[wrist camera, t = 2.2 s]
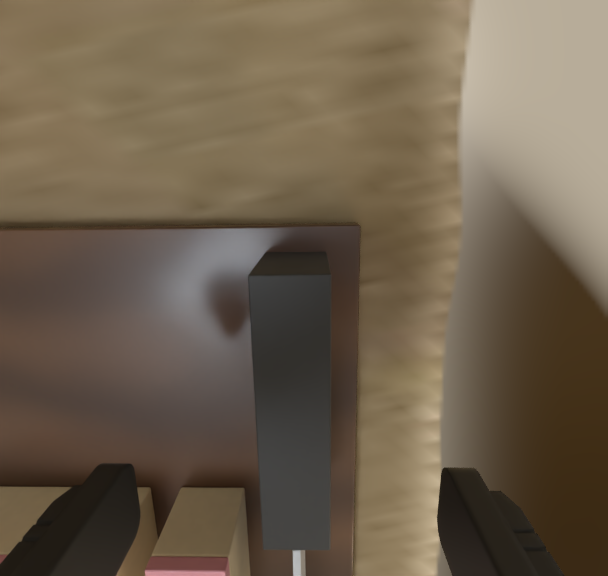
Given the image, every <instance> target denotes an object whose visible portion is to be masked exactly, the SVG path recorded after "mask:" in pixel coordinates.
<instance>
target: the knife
mask: <svg viewBox="0 0 608 576" xmlns="http://www.w3.org/2000/svg"><path fill="white" fill-rule="evenodd" d="M248 289H249V307H250V325H251V343H252V361H253V379H254V397H255V415H256V433H257V451H258V469H259V487H260V505H261V523H262V541H263V549H264V550H292V553H293V576H306V570H305V550H330V549H331V271H330V267H329V262H328V257H327V253H326V252H266V253H265V254H264V255H263V256H262V258H261V259H260V260H259V262H258V263H257V264H256V266H255V267H254V268H253V270H252V271H251V272H250V274H249V275H248Z"/></svg>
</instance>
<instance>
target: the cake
mask: <svg viewBox="0 0 608 576" xmlns="http://www.w3.org/2000/svg"><path fill="white" fill-rule="evenodd" d="M70 488H72V487H2V486H0V564H1V562H2V561H3V560H4V559H5V558H6V556H7V555H8V554H9V553H10V552H11V551H12V549H13V548H14V547H15V546H16V545H17V543H18V542H21V541H22V539H23V536H24V535H25V534H26V533H27V532H28V530H29V529H30V528H31V527H32V526H33V525H36V523H37V520H38V519H39V517H40V516H41V515H42V514H43V513H44V512H45V510H46V509H47V508H48V507H49V506H50V504H51V503H52V502H53V501H54V500H55V499H57V498H58V497H60V496H61V495H62V494H64V493H65V492H66V491H68V490H69V489H70ZM137 490H138V497H139V504H140V524H139V528H138V532H137V535H136V538H135V540H134V542H133V544H132V546H131V548H130V550H129V551H128V553H127V555H126V557H125V559H124V561H123V563H122V565H121V567H120V569H119V571H118V573H117V575H116V576H145V568H146V566H147V564H148V562H149V559H150V557H152V553H153V550H154V548H155V546H156V544H157V541H158V535H157V528H156V521H155V514H154V508H153V501H152V494H151V488H150V487H137Z"/></svg>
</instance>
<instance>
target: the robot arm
mask: <svg viewBox="0 0 608 576" xmlns="http://www.w3.org/2000/svg"><path fill="white" fill-rule="evenodd" d="M437 522H438V532H439V537H440V541H441V545H442V548H443V551H444V553H445V556H446V559H447V562H448V565H449V567H450V570H451V573H452V576H564V574H563V573H562V571H561V570H560V568H559V567H558V565H557V564H556V562H555V561H554V559H553V557H552V556H551V554H550V553H549V552H547V551H546V547H545V545H544V544H543V542H542V541H541V539H540V538H539V536H538V534H535V532H534V528H533V527H532V525H531V524H530V522H529V521H528V519H527V518H526V516H525V515H524V513H523V511H522V510H521V509H520V508H519V507H518V506H517V505H516V504H515V503H514V502H512V501H511V500H510V499H509V498H508V497H507V496H506V495H505V494H503V493H502V492H501V491H489V489H488V488H487V486H486V484H485V483H484V481H483V479H482V478H481V476H480V474H479V473H478V471H477V470H476V469H475V468H443V470H442V474H441V483H440V494H439V504H438V515H437ZM139 524H140V504H139V497H138V490H137V483H136V476H135V470H134V467H133V465H132V464H130V463H101V464H99V465H98V466H97V467H96V468H95V469H94V470H93V472H92V473H91V474H90V475H89V477H88V478H87V479H86V480H85V482H84V483H83V484H82V485H74V486H73V487H72V488H70V489H69V490H68V491H66V492H65V493H64V494H62V495H61V496H60V497H58V498H57V499H55V500H54V501H53V502H52V503H51V504H50V506H49V507H48V508H47V509H46V510H45V512H44V513H43V514H42V515H41V516H40V517H39V519H38V520H37V523H36V525H33V526H32V527H31V528H30V529H29V530H28V532H27V533H26V534H25V535H24V536H23V539H22V541H21V542H18V543H17V545H16V546H15V547H14V548H13V549H12V551H11V552H10V553H9V554H8V555H7V556H6V558H5V559H4V560H3V561H2V562H1V564H0V576H116V575H117V573H118V571H119V569H120V567H121V565H122V563H123V561H124V559H125V557H126V555H127V553H128V551H129V550H130V548H131V546H132V544H133V542H134V540H135V538H136V535H137V532H138V528H139Z"/></svg>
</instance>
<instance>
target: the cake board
mask: <svg viewBox="0 0 608 576" xmlns="http://www.w3.org/2000/svg"><path fill="white" fill-rule="evenodd" d="M360 232H361V227H360V225H359V224H358V223H299V224H226V225H153V226H80V227H7V228H0V486H2V487H73V486H74V485H82V484H83V483H84V482H85V480H86V479H87V478H88V477H89V475H90V474H91V473H92V472H93V470H94V469H95V468H96V467H97V466H98V465H99V464H101V463H130V464H132V465H133V467H134V470H135V476H136V483H137V487H150V488H151V494H152V501H153V508H154V514H155V521H156V528H157V535H158V539H159V537H160V534H161V532H162V530H163V528H164V525H165V523H166V521H167V519H168V516H169V514H170V512H171V510H172V507H173V505H174V503H175V500H176V498H177V496H178V494H179V491H180V489H181V488H182V487H203V488H244V489H245V503H246V517H247V532H248V547H249V562H250V576H293V553H292V550H264V549H263V541H262V523H261V505H260V487H259V469H258V451H257V433H256V415H255V397H254V379H253V361H252V343H251V325H250V307H249V289H248V275H249V274H250V272H251V271H252V270H253V268H254V267H255V266H256V264H257V263H258V262H259V260H260V259H261V258H262V256H263V255H264V254H265V253H266V252H326V253H327V257H328V262H329V267H330V271H331V549H330V550H305V570H306V576H353V539H354V495H355V451H356V407H357V363H358V320H359V276H360Z"/></svg>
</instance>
